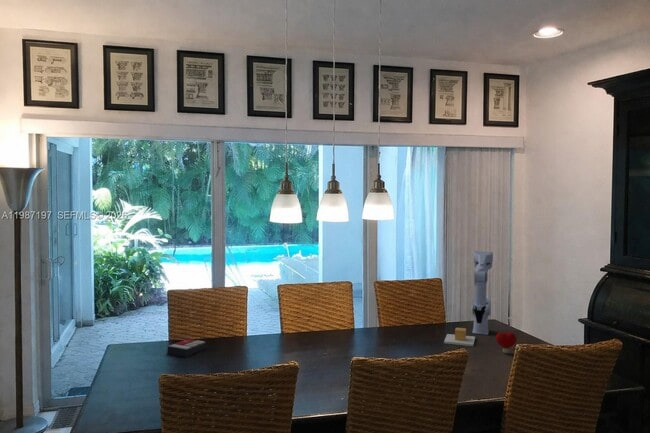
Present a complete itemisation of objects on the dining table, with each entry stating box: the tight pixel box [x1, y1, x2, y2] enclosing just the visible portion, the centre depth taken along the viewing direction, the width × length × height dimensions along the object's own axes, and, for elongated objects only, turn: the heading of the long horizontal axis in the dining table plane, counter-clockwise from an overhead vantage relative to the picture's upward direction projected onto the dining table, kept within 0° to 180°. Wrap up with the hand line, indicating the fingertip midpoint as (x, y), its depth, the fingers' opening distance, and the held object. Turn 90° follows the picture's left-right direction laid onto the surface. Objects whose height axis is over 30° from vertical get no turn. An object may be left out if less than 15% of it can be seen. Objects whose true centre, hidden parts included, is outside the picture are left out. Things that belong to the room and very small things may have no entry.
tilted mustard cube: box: [454, 327, 467, 341], centre depth 268 cm, size 5×5×5 cm
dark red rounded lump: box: [495, 331, 518, 355], centre depth 248 cm, size 9×7×10 cm
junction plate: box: [443, 333, 476, 347], centre depth 268 cm, size 14×14×4 cm
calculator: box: [167, 338, 207, 358], centre depth 248 cm, size 11×4×15 cm
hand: (479, 321), depth 270 cm, fingers open, 7 cm apart
